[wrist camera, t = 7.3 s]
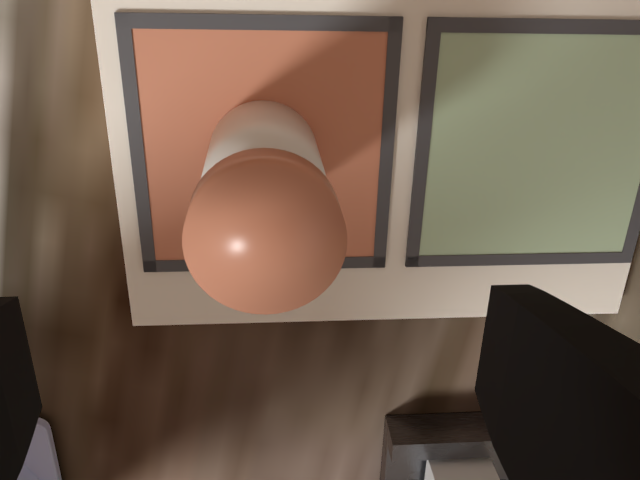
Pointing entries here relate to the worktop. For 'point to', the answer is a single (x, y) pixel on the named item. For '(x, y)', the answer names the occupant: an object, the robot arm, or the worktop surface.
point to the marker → (264, 214)
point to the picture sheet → (390, 143)
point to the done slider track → (433, 443)
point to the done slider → (461, 469)
